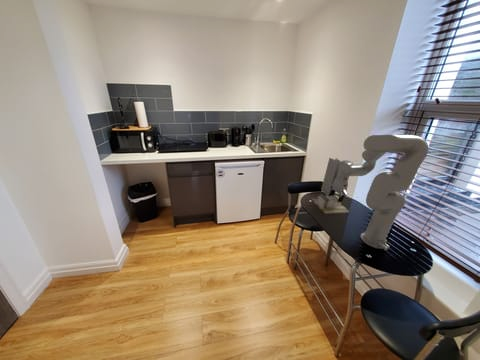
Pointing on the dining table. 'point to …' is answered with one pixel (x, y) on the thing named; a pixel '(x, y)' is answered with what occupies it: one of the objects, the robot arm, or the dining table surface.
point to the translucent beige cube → (336, 201)
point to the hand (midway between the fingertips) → (335, 198)
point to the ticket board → (332, 208)
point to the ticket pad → (325, 201)
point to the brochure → (330, 175)
